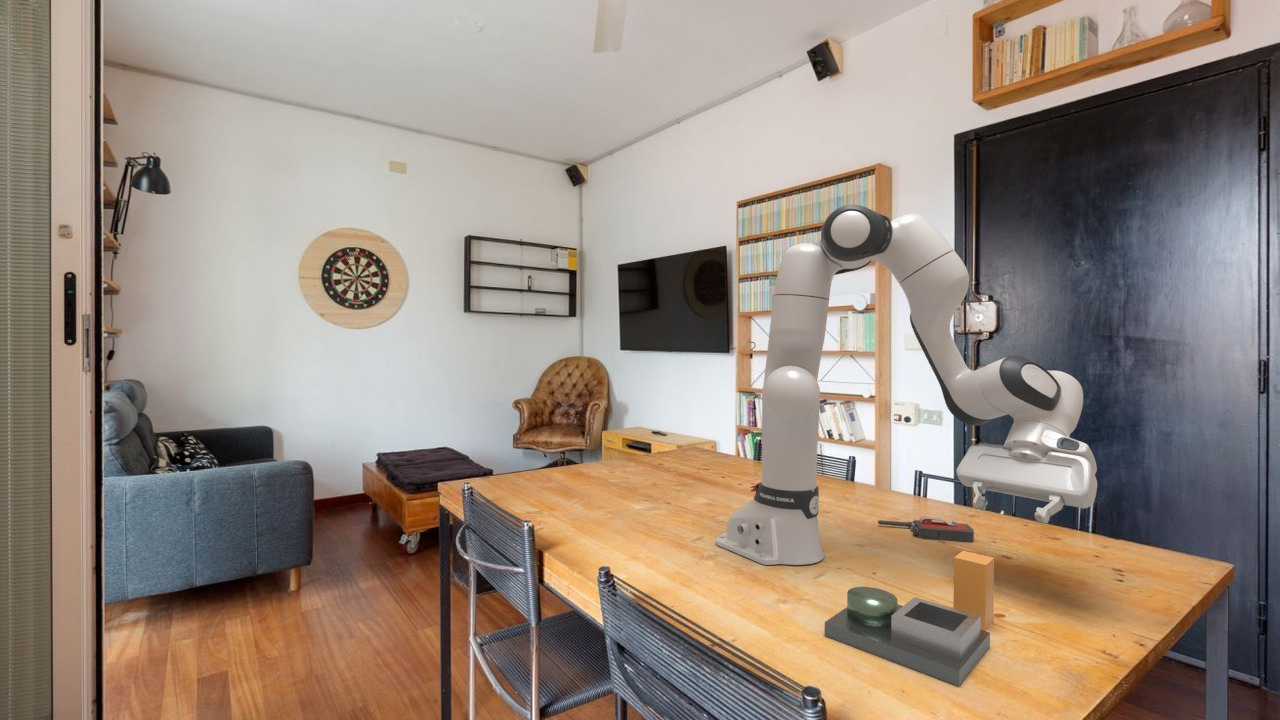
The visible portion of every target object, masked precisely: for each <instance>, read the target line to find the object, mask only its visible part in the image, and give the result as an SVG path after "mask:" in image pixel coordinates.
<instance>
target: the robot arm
mask: <svg viewBox="0 0 1280 720" xmlns="http://www.w3.org/2000/svg"><path fill="white" fill-rule="evenodd" d="M871 262H878V263H880V264H882V265H883V266H884V267H886V269H888V270H889V271H890V272H891V274H892V275H893V276H894V278H895V280H896V282H897V283H898V284H899V286H900V288H902V290H903V293H904V295H905V297H906V300H907V302H908V306H909V310H910V313H909V314H910V315H909V320H910V321H909V323H910V325H911V328H912V331H913V333H914V335H915V337H916V339H917V341H918V344H919V346H920V347H921V350H922V352H923V353H924V356H925V357H926V359H927V361H928V363H929V365H930V368H931V370H932V371H933V373H934V376H935V378H936V380H937V382H938V385H939V386H940V389H941V392H942V397H943V399H944V402H945V406H946V407H947V409H948V411H949V413H950V414H952V416H953V417H955V418H956V419H957V420H959V421H960V422H962V423H964V424H966V425H968V426H969V425H970V426H975V427H976V426H983V425H984V424H986V423H989V422H991V421H994V420H996V419H998V418H1000V417H1004V416H1007V415H1009V416H1010V417H1011V418H1012V419H1013V423H1012V425H1011V428H1010V430H1009V432H1008V435H1007V437H1006V439H1005V442H1004V444H999V443H998V444H997V443H988V442H979V443H976V444H974V445H970V446H969V448H968V449H967V451H966V453H965V455H964V457H963V458H962V460H961V461H960V463H959V464H958V466H957V468H956V470H955V471H956V472H955V473H956V475H957V478H958V479H959V481H960V482H961V484H962V485H963V486H964V487H968V488H973V491H974V492H973V493H974V498H973V499H972V500H973V501H972V504H973V507H974V508H975V509H979V510H982V511H983V510H986V507H987V505H988V503H989V502H988V500H987V499H986V496H983V494H986V492H987V491H990V492H996V493H1000V494H1005V495H1010V496H1011V495H1012V496H1016V497H1020V498H1021V497H1022V498H1026V499H1032V500H1038V501H1042V502H1048V503H1047V504H1046V505H1045V506H1044V507H1038V506H1037V507H1036V509H1035V511H1036V512H1034V519H1035V521H1036V522H1038V523H1043V524H1048V523H1049V521H1050V519H1051V516H1054V515H1055V514H1057V513H1058V512H1059V511H1061V510H1063V507H1064V506H1069V507H1074V508H1080V509H1088V508H1089V507H1091V506H1093V505H1094V503H1095V501H1096V500H1095V499H1096V497H1097V490H1098V480H1097V477H1096V473H1097V471H1098V467H1097V462H1096V459H1095V456H1094V453H1093V452H1092V449H1091V448H1090V446H1089V444H1087V443H1085V442H1082V441H1080V440H1078V439H1075V438H1072V437H1071V436H1070V435H1071V434H1072V433H1073V432H1074V431H1075V429H1076V428H1077V425H1078V423H1079V419H1080V417H1081V414H1082V409H1083V406H1084V390H1083V387H1082V385H1081V383H1080V381H1078V380H1077V379H1076V378H1075V377H1074V376H1072V375H1070V374H1068V373H1066V372H1064V371H1061V370H1047V369H1046V368H1044V367H1043V366H1042V365H1040V364H1039V363H1038V362H1036V361H1035V360H1032V359H1031V358H1028V357H1027V356H1023V355H1018V354H1013V355H1009V356H1006V357H1003V358H1001V359H998V360H995V361H993V362H991V363H989V364H987V365H985V366H983V367H980V368H977V369H976V370H971V369H970V368H969V367H968V366H967V364H966V362H965V360H964V358H963V356H962V355H961V352H960V350H959V348H958V346H957V344H956V342H955V340H954V339H953V337H952V334H951V321H952V318H953V316H954V315H955V313H956V311H957V310H958V308H959V306H961V304H962V303H963V301H964V299H965V297H966V295H967V293H968V290H969V285H970V275H969V271H968V269H967V267H966V265H965V263H964V262H963V260H962V258H961V257H960V255H959V254H958V253H957V252H956V251H955V249H954V248H953V246H952V245H951V244H950V243H949V241H948V240H947V238H945V236H944V235H943V234H941V232H940V231H939V230H938V229H937V228H936V227H935V226H934V225H933V224H932V223H931V222H930V221H928V220H927V219H926V218H925V217H924V216H923V215H920V214H918V213H907V214H903V215H900V216H898V217H896V218H894V219H892V220H891V219H890V218H889V217H888V216H887V215H884V214H882V213H879V212H877V211H874V210H873V209H870V208H869V207H866V206H863V205H859V204H846V205H843V206H840V207H838V208H837V209H834V210H833V211H832V212H831V213H830V214H829V215H828V216H827V217H826V219H825V221H824V222H823V225H822V227H821V231H820V238H819V239H818V240H816V241H814V242H811V243H809V242H808V243H807V242H803V243H797V244H795V245H792V246H790V247H788V248H787V249H786V251H785V252H784V253H783V255H782V258H781V261H780V264H779V268H778V271H777V275H776V281H775V284H774V291H773V300H772V308H771V316H770V322H769V323H770V324H769V325H770V326H769V332H768V343H767V352H766V360H765V369H764V370H765V371H764V376H763V377H764V379H763V386H762V391H761V395H762V396H761V429H762V430H761V482H759V483H756V484H755V485H753V486H752V485H751V486H750V487H749V488H750V493H752V492H753V493H754V492H755V494H754V496H753V499H752V500H750V501H749V502H748V503H746V504H744V505H743V506H741V507H740V508H738V509H737V510H736V511H734V512H732V514H731V515H730V516H729V519H728V522H727V528H726V532H723V533H721V534H720V535H718V536H717V538H716V540H715V545H716V546H718V547H721V548H723V549H725V550H728V551H731V552H732V553H735V554H737V555H740V556H742V557H745V558H747V559H749V560H751V561H754V562H756V563H758V564H761V565H767V566H771V565H789V566H793V565H794V566H801V565H802V566H803V565H804V566H805V565H812V564H815V563H818V562H820V561H822V560H823V559H824V558H825V553H824V550H823V547H822V541H821V536H820V532H819V531H820V530H819V523H818V521H819V520H818V515H819V508H820V506H819V505H820V499H819V498H820V495H819V493H820V492H819V491H820V489H819V486H817V482H818V481H817V480H818V479H817V477H818V473H817V472H818V471H817V470H818V443H819V441H818V440H819V426H820V425H819V424H820V411H821V410H820V408H821V407H820V406H821V404H820V403H821V390H820V389H821V388H820V385H819V382H818V378H819V372H820V371H819V370H820V365H821V358H822V355H823V349H824V348H823V347H824V343H825V337H826V328H827V322H828V321H827V320H828V312H829V304H830V297H831V296H830V295H831V287H832V283H833V280H834V276H835V275H841V274H845V273H850V272H854V271H855V272H856V271H857V270H861V269H863V268H865V267H867V266H868V265H869V264H870V263H871Z"/></svg>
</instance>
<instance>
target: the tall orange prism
mask: <svg viewBox="0 0 1280 720" xmlns="http://www.w3.org/2000/svg"><path fill="white" fill-rule="evenodd" d="M994 583H995V557H993V556H989V555H985V554H980V553H974V552H970V551H965V550H962V551H961V552H959V553H958V554H956V555H955V556H954V558H953V606H952V608H954V609H957V610H961V611H964V612H968V613H971V614H974V615H978V616H981V619H980V630H983V631H986V632H987V630H988V628H989V627H990V626H991V625H992V624H993V622H994V595H995V594H994V592H995V591H994V589H995V587H994V586H995V584H994Z"/></svg>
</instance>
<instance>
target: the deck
mask: <svg viewBox="0 0 1280 720" xmlns="http://www.w3.org/2000/svg"><path fill="white" fill-rule="evenodd" d="M846 595H847V601H846V603H847V605H846V607H845V608H843V609H842V610H841V611H839V612H837V613H836V614H834V615H833V616H831V617H829V618H828V619H827V620H826V621H824V636H825V637H827V638H830V639H832V640H835V641H838V642H840V643H842V644H845V645H848V646H851V647H854V648H856V649H859V650H862V651H864V652H867V653H870V654H872V655H874V656H878V657H880V658H882V659H885V660H887V661H889V662H890V661H891V662H894V663H896V664H898V665H901V666H904V667H906V668H909V669H911V670H914V671H916V672H920V673H922V674H925V675H927V676H930V677H933V678H935V679H938V680H941V681H943V682H946V683H949V684H950V685H954V686H956V687H960V686H961V685H962V684H963V683H964V681H965V680H966V679H967V677H968V676H969V675H970V673H971V672H972V670H974V668H975V667H976V665H977V664H978V663H979V662H980V660H981V659H982V658H983V656H984V655H985V654H986V653H987V652H988V651H989V649H990V647H991V632H989V631H987V630H986V631H983V630H980V619H981V616H978V615H974V614H971V613H968V612H964V611H961V610H957V609H954V608H953V607H950V606H947V605H944V604H939V603H937V602H935V601H934V602H933V601H930V600H926V599H923V598H920V597H916V596H914V597H913V598H911V599H910V600H909V601H908V602H906V603H905V604H904V605H901V604H899V603H898V598H897V597H896V596H895V595H894V594H892V593H891V592H890V591H887V590H884V589H880V588H877V587H871V586H856V587H852V588H849V589H848V591H847V592H846Z"/></svg>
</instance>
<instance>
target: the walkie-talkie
mask: <svg viewBox="0 0 1280 720" xmlns="http://www.w3.org/2000/svg"><path fill="white" fill-rule="evenodd" d="M877 523H878V525H882V526H883V525H884V526H892V527H893V526H894V527H906V528H910V531H911V532H912V535H913V536H916V537H917V538H918V539H922V540H931V541H944V542H945V541H946V542H957V543H969V544H970V543H971V544H972V543H974V542H975V540H974V538H975V536H974V535H975V531H974V529H973V528H972V527H971V526H970V525H969V524H967V523H960V522H959V523H958V522H957V521H956V520H955V519H951V521H946V520H945V519H943V518H942V517H939V516H925V515H923V516H921V517H920V518H919V519H918V520H917V519H912V521H894V520H878V521H877Z"/></svg>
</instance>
